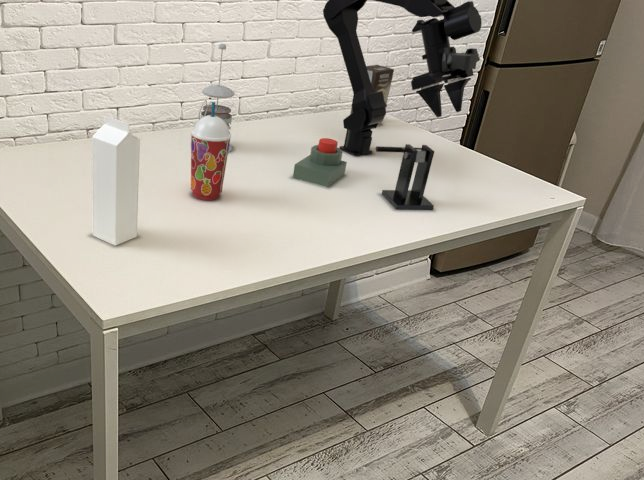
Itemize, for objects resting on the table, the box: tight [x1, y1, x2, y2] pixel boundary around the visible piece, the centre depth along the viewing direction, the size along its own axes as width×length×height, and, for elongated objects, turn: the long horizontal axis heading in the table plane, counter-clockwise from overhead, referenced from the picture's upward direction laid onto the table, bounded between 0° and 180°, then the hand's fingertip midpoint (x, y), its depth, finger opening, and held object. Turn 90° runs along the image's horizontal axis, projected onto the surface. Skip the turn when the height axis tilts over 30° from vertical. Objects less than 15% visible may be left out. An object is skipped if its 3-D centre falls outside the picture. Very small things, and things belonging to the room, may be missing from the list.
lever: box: [375, 146, 426, 163], centre depth 166 cm, size 10×13×2 cm
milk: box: [91, 115, 141, 246], centre depth 133 cm, size 6×6×22 cm
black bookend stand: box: [381, 143, 435, 211], centre depth 165 cm, size 9×9×13 cm
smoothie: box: [190, 101, 232, 201], centre depth 155 cm, size 8×8×20 cm
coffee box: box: [349, 64, 395, 126], centre depth 216 cm, size 9×6×16 cm
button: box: [317, 137, 339, 154], centre depth 176 cm, size 4×4×2 cm
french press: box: [198, 43, 236, 153], centre depth 181 cm, size 10×12×25 cm
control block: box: [292, 144, 347, 188], centre depth 176 cm, size 12×9×6 cm
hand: (449, 114), depth 175 cm, fingers open, 9 cm apart
